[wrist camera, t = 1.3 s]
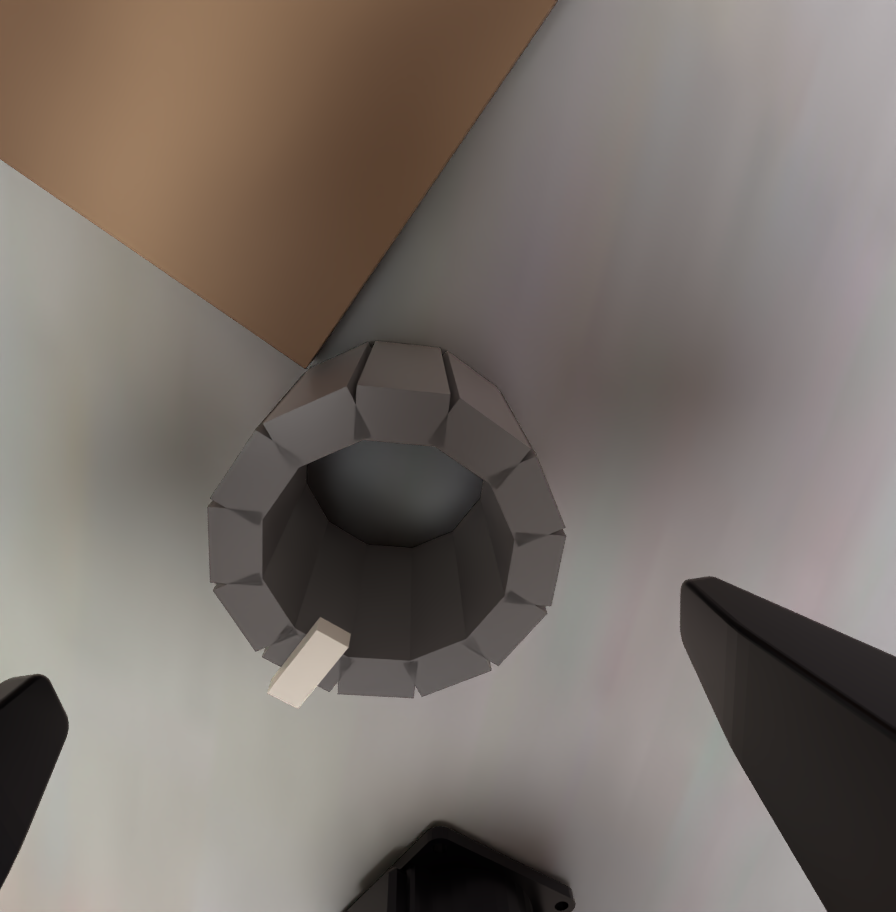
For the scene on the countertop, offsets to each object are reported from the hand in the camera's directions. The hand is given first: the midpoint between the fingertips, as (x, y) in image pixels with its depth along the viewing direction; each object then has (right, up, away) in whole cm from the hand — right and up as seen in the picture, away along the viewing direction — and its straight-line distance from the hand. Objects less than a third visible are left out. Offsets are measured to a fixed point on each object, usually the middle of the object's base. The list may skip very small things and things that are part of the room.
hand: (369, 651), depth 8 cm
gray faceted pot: (0, +2, +7) cm, 7 cm away
